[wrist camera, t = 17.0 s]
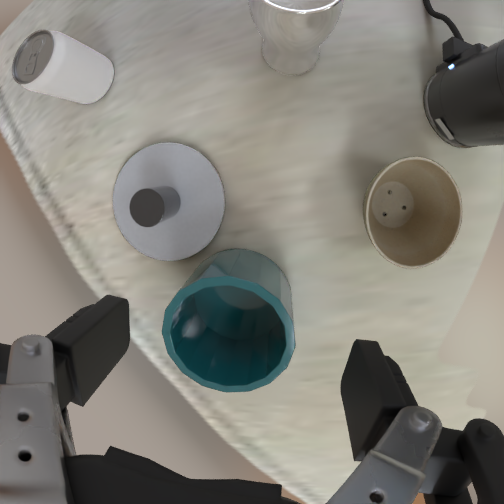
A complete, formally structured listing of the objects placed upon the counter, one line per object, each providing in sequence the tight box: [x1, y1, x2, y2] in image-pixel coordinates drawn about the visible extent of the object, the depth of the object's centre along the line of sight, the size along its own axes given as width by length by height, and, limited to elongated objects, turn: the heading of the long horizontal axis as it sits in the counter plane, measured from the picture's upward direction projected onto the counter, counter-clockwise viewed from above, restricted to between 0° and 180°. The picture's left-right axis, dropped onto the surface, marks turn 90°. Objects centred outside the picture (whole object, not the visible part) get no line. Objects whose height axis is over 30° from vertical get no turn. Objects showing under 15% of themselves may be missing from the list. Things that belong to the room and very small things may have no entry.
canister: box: [162, 249, 295, 392], centre depth 32 cm, size 12×12×10 cm
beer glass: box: [248, 0, 344, 75], centre depth 22 cm, size 7×7×15 cm
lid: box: [113, 142, 225, 261], centre depth 31 cm, size 13×13×6 cm
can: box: [12, 30, 114, 104], centre depth 25 cm, size 6×6×12 cm
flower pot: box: [363, 157, 462, 268], centre depth 29 cm, size 10×10×7 cm
